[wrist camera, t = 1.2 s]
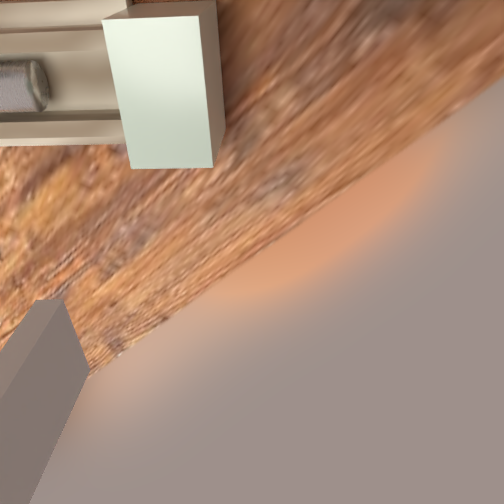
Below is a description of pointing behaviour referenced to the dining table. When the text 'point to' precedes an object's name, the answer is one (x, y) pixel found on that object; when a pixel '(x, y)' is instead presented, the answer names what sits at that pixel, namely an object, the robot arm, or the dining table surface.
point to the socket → (168, 82)
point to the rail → (63, 71)
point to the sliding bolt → (22, 87)
